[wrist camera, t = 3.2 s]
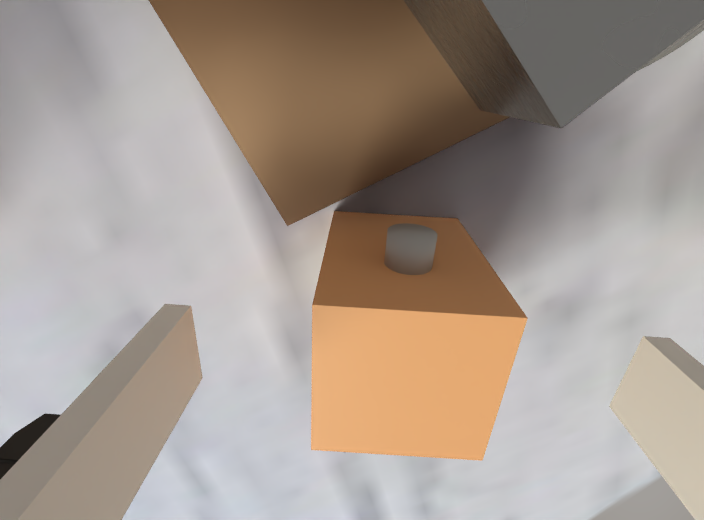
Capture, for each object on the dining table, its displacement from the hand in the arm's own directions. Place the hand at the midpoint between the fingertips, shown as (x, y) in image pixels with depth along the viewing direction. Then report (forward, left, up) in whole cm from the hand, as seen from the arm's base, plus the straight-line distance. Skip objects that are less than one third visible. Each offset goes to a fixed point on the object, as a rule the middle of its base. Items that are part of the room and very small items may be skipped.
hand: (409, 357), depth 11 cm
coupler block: (0, 0, -6) cm, 6 cm away
